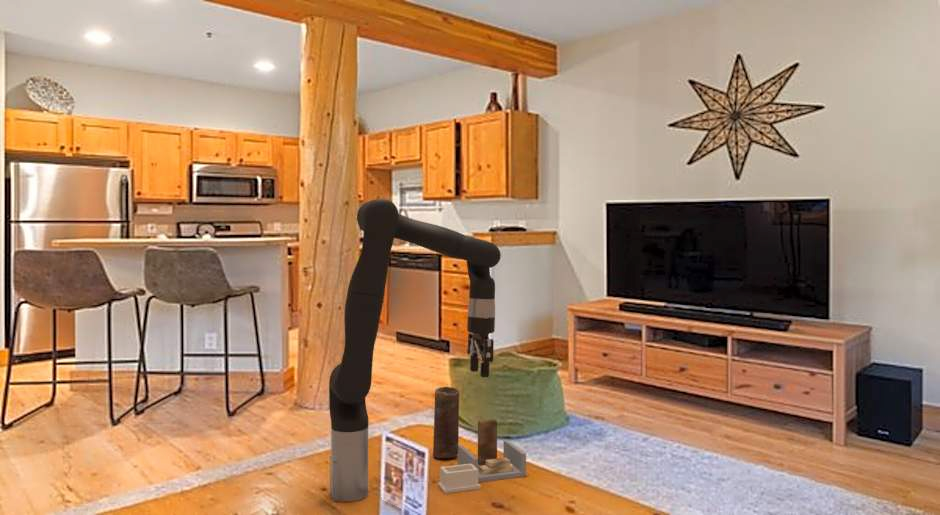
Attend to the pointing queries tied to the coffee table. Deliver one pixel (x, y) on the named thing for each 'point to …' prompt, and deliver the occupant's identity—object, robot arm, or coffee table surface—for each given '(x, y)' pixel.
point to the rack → (510, 452)
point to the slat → (487, 441)
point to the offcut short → (497, 462)
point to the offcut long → (495, 469)
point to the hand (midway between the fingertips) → (479, 374)
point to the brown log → (446, 422)
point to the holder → (458, 478)
